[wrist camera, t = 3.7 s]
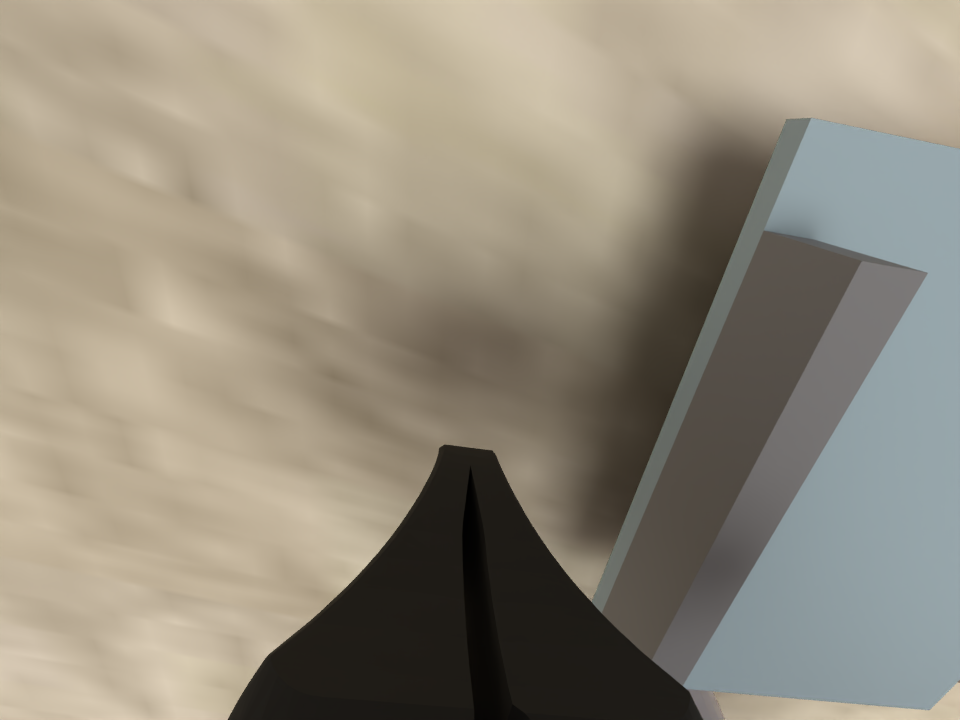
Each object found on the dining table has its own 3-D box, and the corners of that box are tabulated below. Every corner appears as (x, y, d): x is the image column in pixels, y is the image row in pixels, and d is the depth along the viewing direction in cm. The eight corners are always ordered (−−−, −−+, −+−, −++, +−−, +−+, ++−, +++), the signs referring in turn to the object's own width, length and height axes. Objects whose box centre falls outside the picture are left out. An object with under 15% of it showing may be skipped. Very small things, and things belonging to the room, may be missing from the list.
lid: (911, 688, 19) (1003, 802, 16) (569, 657, 18) (591, 773, 14) (1341, 234, 11) (1698, 273, 8) (786, 119, 10) (941, 110, 7)
